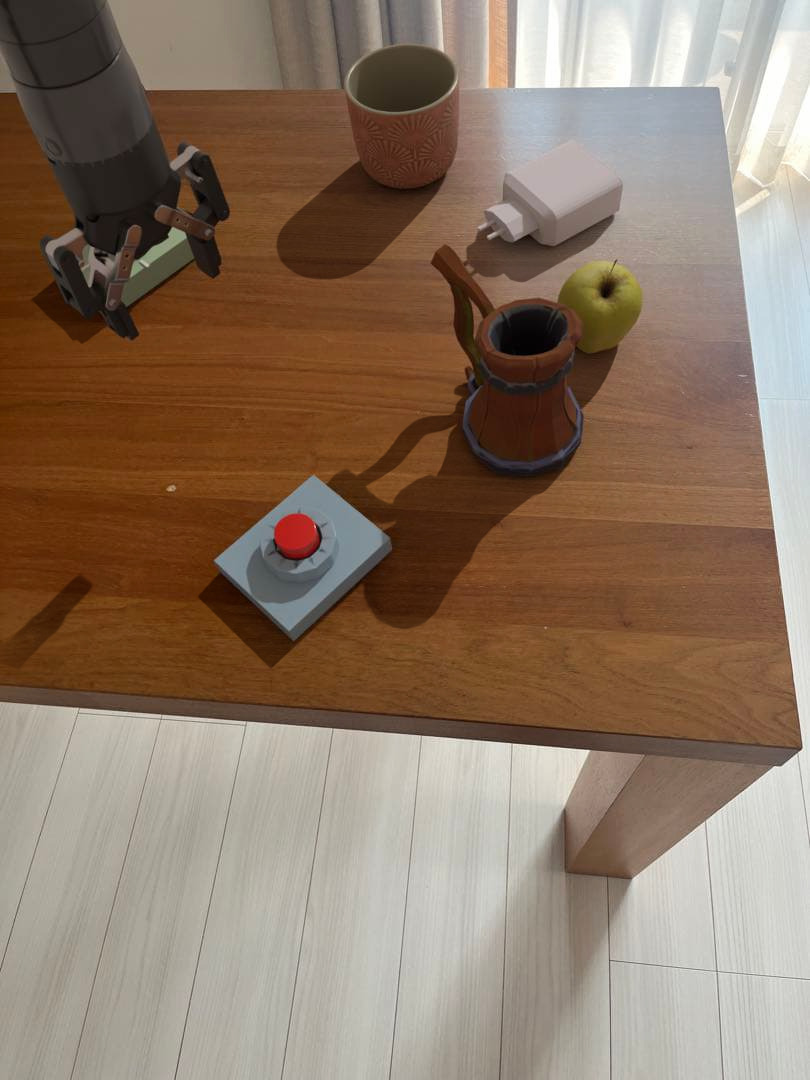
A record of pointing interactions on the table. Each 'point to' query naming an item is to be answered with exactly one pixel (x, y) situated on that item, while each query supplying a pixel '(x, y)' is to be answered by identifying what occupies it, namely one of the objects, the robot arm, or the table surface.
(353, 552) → the button box
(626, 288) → the apple
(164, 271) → the panel
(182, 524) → the table surface
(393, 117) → the planter
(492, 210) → the charger
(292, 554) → the button
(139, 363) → the table surface
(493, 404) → the mug
